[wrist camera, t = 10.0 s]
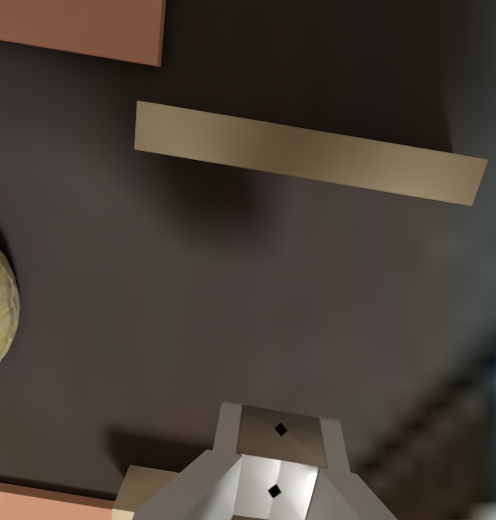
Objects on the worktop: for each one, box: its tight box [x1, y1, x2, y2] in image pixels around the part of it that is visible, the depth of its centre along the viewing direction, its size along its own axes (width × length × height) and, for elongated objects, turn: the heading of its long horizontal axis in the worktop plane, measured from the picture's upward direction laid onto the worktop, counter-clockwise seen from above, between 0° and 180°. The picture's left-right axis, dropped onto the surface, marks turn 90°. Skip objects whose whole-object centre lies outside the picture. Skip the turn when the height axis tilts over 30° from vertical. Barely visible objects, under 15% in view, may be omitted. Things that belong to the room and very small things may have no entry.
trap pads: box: [0, 0, 166, 520], centre depth 14 cm, size 8×29×1 cm, turn 171°
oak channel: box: [112, 101, 488, 520], centre depth 13 cm, size 24×15×4 cm, turn 81°
